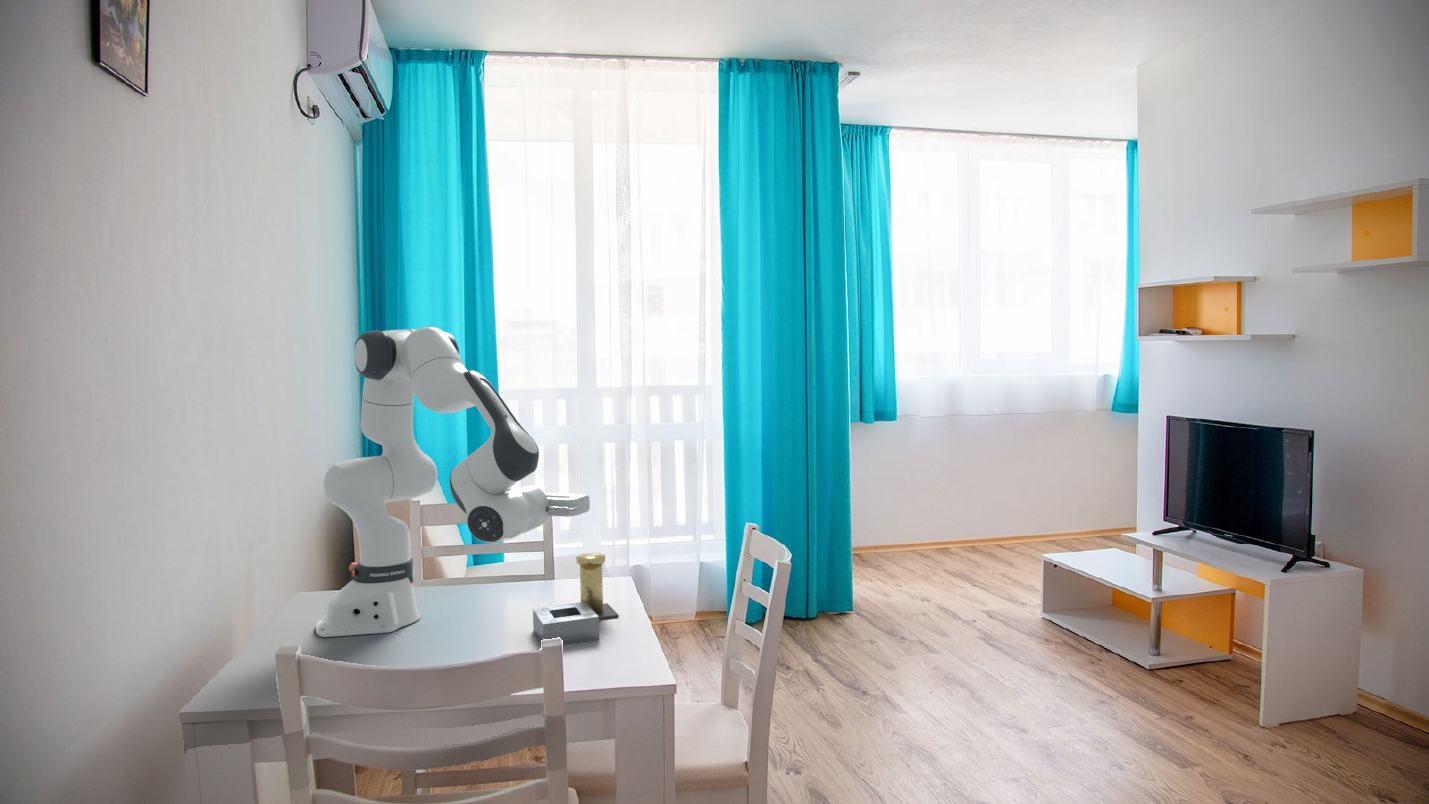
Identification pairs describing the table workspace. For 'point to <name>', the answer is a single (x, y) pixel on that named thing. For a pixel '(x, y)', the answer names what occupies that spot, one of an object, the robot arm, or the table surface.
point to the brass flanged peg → (591, 580)
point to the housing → (566, 623)
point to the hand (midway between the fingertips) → (557, 496)
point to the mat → (607, 612)
